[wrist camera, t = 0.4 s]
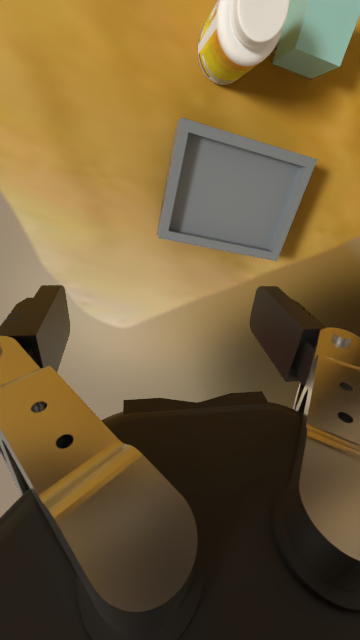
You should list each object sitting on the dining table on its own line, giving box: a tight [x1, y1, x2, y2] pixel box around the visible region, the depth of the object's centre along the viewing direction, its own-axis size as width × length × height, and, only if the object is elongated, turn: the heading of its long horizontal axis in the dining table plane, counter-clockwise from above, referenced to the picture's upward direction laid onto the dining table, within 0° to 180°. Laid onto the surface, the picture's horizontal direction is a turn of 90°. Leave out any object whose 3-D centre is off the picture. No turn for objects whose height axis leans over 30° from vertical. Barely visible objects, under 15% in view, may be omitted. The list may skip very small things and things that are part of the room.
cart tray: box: [157, 118, 317, 261], centre depth 34 cm, size 12×16×4 cm
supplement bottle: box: [198, 0, 290, 85], centre depth 24 cm, size 6×6×10 cm
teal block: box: [272, 0, 360, 79], centre depth 27 cm, size 5×5×5 cm
